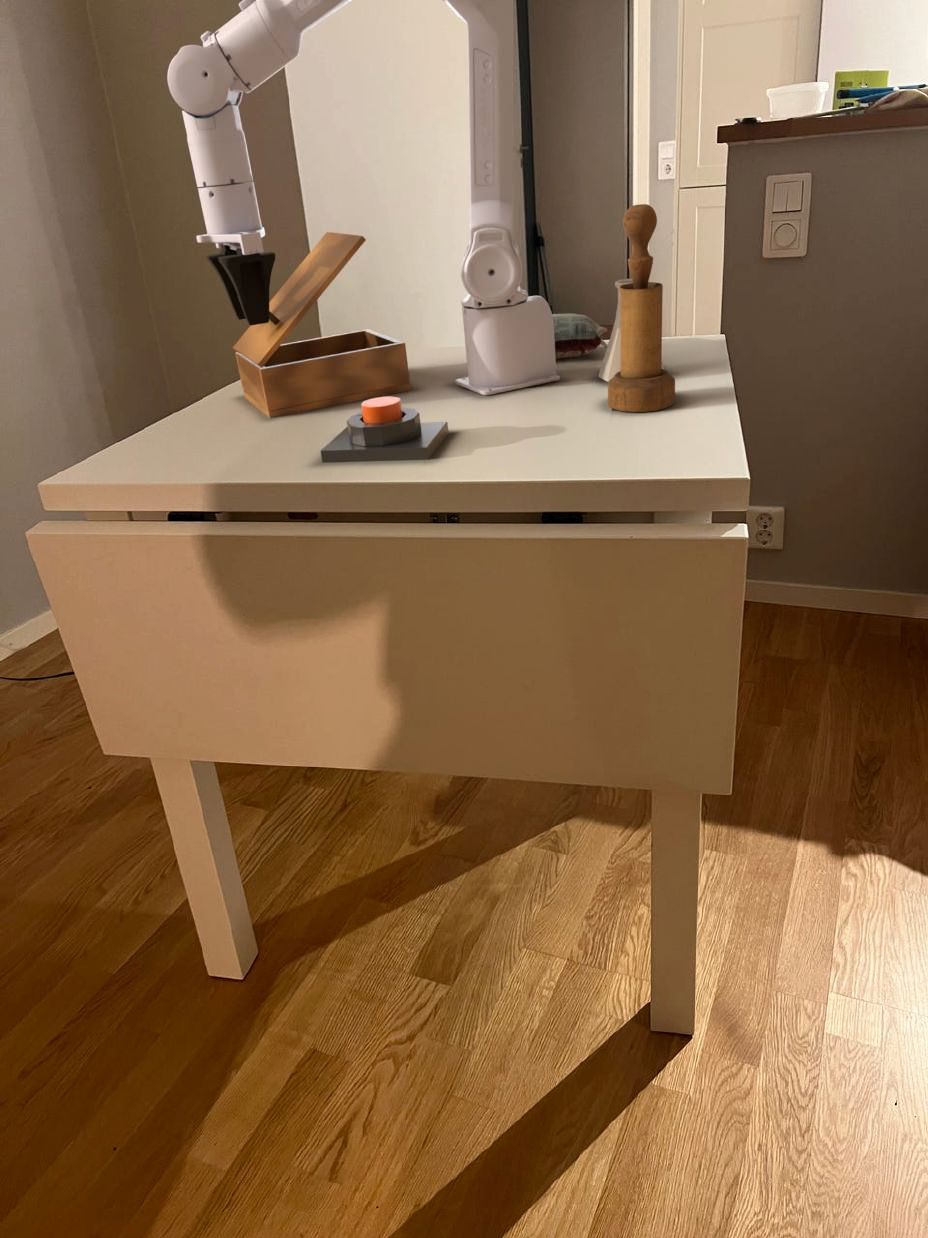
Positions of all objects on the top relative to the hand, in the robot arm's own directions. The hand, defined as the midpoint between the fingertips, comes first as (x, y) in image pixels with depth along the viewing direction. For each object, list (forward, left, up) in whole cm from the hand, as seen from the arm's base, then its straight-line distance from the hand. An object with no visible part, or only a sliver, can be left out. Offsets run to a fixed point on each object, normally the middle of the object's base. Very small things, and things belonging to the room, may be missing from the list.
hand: (253, 320), depth 101 cm
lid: (-5, 0, +2) cm, 6 cm away
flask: (-36, +20, -10) cm, 42 cm away
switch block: (-5, +26, -9) cm, 28 cm away
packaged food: (-36, +4, -10) cm, 37 cm away
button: (-5, +26, -7) cm, 27 cm away
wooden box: (-7, 0, -9) cm, 12 cm away
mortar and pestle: (-30, +30, -10) cm, 44 cm away
